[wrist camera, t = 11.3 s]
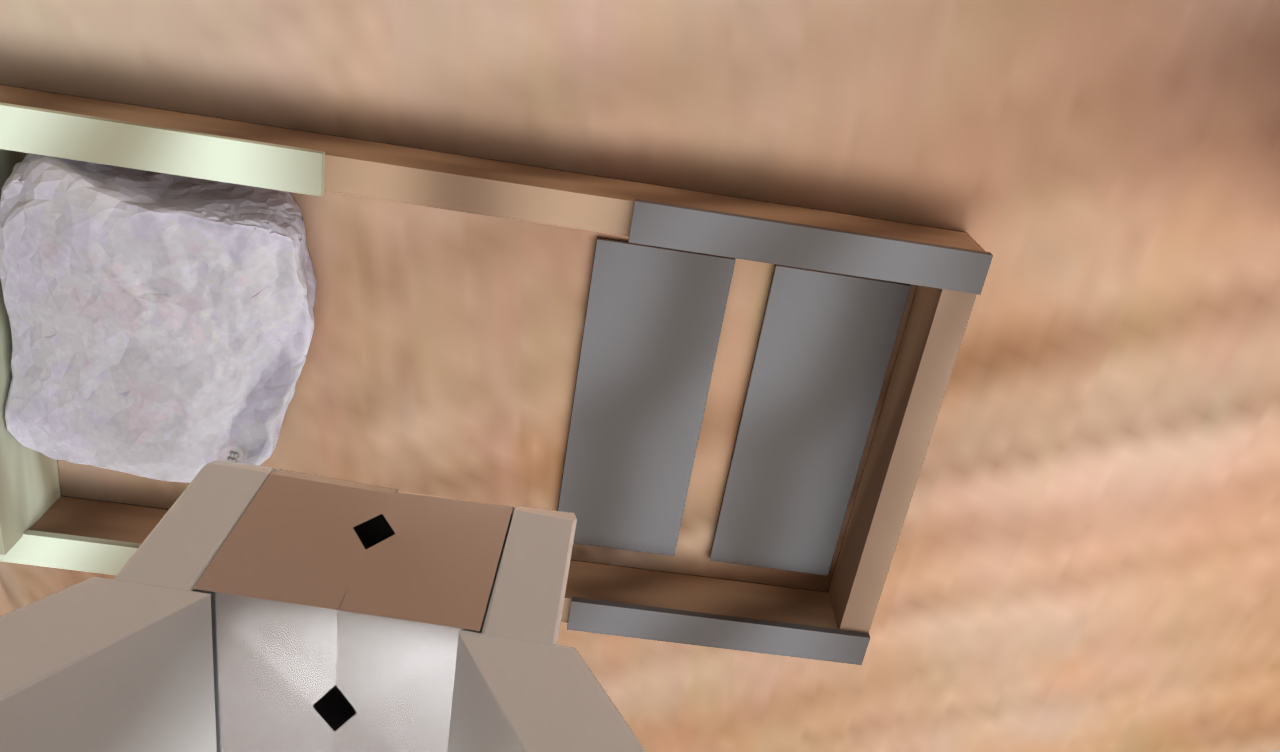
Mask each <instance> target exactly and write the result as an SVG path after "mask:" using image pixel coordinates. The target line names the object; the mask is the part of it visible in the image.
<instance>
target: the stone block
mask: <svg viewBox="0 0 1280 752" xmlns="http://www.w3.org/2000/svg"><path fill="white" fill-rule="evenodd" d="M0 279H1V285H2V292H3V298H4V304H5V307H6V310H7V313H8V317H9V321H10V327H11V334H12V345H13V351H12V359H11V370H12V380H11V384H10V389H9V393H8V398H7V402H6V406H5V420H6V427H7V431H8V432H9V433H10V434H11V435H12V436H13V437H14V438H15V439H16V440H17V441H18V442H19V443H21V444H22V445H23V446H25V447H27V448H30V449H32V450H35V451H38V452H40V453H43V454H45V455H46V456H48V457H49V458H53V459H56V460H66V461H69V462H72V463H76V464H87V465H93V466H96V467H100V468H105V469H110V470H115V471H119V472H124V473H129V474H133V475H137V476H141V477H147V478H150V479H156V480H163V481H172V482H187V483H191V481H192V480H193V479H194V478H195V476H196V475H197V474H198V473H199V471H200V470H201V469H202V468H203V466H205V465H206V464H207V463H210V462H213V461H216V460H225V461H232V462H238V463H245V464H251V465H258V466H260V465H261V464H262V463H263V462H264V461H266V460H267V459H268V458H269V457H271V455H272V453H273V451H274V449H275V447H276V445H277V441H278V437H279V434H280V430H281V426H282V422H283V419H284V416H285V413H286V410H287V406H288V405H289V403H290V401H291V400H292V398H293V396H294V394H295V387H296V382H297V380H298V378H299V376H300V374H301V371H302V367H303V365H304V364H305V361H306V356H307V352H308V349H309V346H310V342H311V339H312V336H313V331H314V315H313V306H314V304H315V290H316V278H315V274H314V271H313V267H312V263H311V259H310V256H309V253H308V249H307V244H306V231H305V227H304V222H303V218H302V212H301V210H300V208H299V206H298V205H296V204H295V202H294V199H293V197H292V195H291V194H290V193H289V192H287V191H280V190H273V189H267V188H260V187H253V186H246V185H240V184H233V183H226V182H219V181H213V180H206V179H199V178H193V177H186V176H179V175H172V174H166V173H159V172H152V171H145V170H139V169H132V168H125V167H119V166H112V165H105V164H98V163H92V162H85V161H78V160H71V159H65V158H58V157H51V156H45V155H38V154H31V153H28V154H27V155H26V156H25V157H24V159H23V161H22V162H20V163H17V164H15V166H14V168H13V172H12V173H11V175H10V176H9V178H8V179H7V180H6V182H5V183H4V185H3V187H2V193H1V201H0Z"/></svg>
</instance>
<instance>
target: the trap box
mask: <svg viewBox="0 0 1280 752" xmlns="http://www.w3.org/2000/svg"><path fill="white" fill-rule="evenodd" d="M25 153H31V154H38V155H45V156H51V157H58V158H65V159H71V160H78V161H85V162H92V163H98V164H105V165H112V166H119V167H125V168H132V169H139V170H145V171H152V172H159V173H166V174H172V175H179V176H186V177H193V178H199V179H206V180H213V181H219V182H226V183H233V184H240V185H246V186H253V187H260V188H267V189H273V190H280V191H287V192H294V193H300V194H307V195H314V196H320V197H321V196H322V195H323V194H324V191H326V192H333V193H340V194H347V195H353V196H360V197H367V198H373V199H380V200H387V201H393V202H400V203H407V204H414V205H420V206H427V207H434V208H440V209H447V210H454V211H461V212H467V213H474V214H481V215H487V216H494V217H501V218H508V219H514V220H521V221H528V222H534V223H541V224H548V225H554V226H561V227H568V228H575V229H581V230H588V231H595V232H601V233H608V234H615V235H622V236H628V237H629V242H624V241H617V240H610V239H603V238H597V244H596V251H595V258H594V265H593V271H592V278H591V285H590V292H589V299H588V306H587V313H586V320H585V327H584V334H583V341H582V348H581V355H580V362H579V368H578V375H577V382H576V389H575V396H574V403H573V410H572V417H571V424H570V431H569V438H568V445H567V452H566V459H565V465H564V472H563V479H562V486H561V493H560V500H559V507H558V511H562V512H570V513H574V514H575V516H576V519H577V522H576V528H575V535H574V541H573V543H575V544H583V545H591V546H599V547H607V548H615V549H622V550H630V551H638V552H646V553H654V554H662V555H670V556H674V554H675V549H676V544H677V539H678V535H679V530H680V525H681V520H682V515H683V511H684V506H685V501H686V496H687V491H688V486H689V482H690V477H691V472H692V467H693V462H694V457H695V453H696V448H697V443H698V438H699V433H700V428H701V424H702V419H703V414H704V409H705V404H706V399H707V395H708V390H709V385H710V380H711V375H712V371H713V366H714V361H715V356H716V351H717V346H718V342H719V337H720V332H721V327H722V322H723V317H724V313H725V308H726V303H727V298H728V293H729V288H730V284H731V279H732V274H733V269H734V264H735V258H738V259H744V260H751V261H758V262H764V263H771V264H776V265H775V269H774V274H773V278H772V283H771V287H770V291H769V296H768V300H767V305H766V309H765V314H764V318H763V322H762V327H761V331H760V336H759V340H758V345H757V349H756V354H755V358H754V362H753V367H752V371H751V376H750V380H749V385H748V389H747V393H746V398H745V402H744V407H743V411H742V416H741V420H740V424H739V429H738V433H737V438H736V442H735V447H734V451H733V456H732V460H731V464H730V469H729V473H728V478H727V482H726V487H725V491H724V495H723V500H722V504H721V509H720V513H719V518H718V522H717V526H716V531H715V535H714V540H713V544H712V549H711V553H710V561H717V562H725V563H733V564H741V565H749V566H757V567H764V568H772V569H780V570H788V571H796V572H804V573H812V574H820V575H828V572H829V569H830V565H831V562H832V558H833V555H834V551H835V548H836V544H837V541H838V538H839V534H840V531H841V527H842V524H843V520H844V517H845V513H846V510H847V506H848V503H849V499H850V496H851V492H852V489H853V486H854V482H855V479H856V475H857V472H858V468H859V465H860V461H861V458H862V454H863V451H864V447H865V444H866V441H867V437H868V434H869V430H870V427H871V423H872V420H873V416H874V413H875V409H876V406H877V402H878V399H879V395H880V392H881V389H882V385H883V382H884V378H885V375H886V371H887V368H888V364H889V361H890V357H891V354H892V350H893V347H894V343H895V340H896V337H897V333H898V330H899V326H900V323H901V319H902V316H903V312H904V309H905V305H906V302H907V298H908V295H909V292H910V288H911V285H910V284H912V285H918V286H917V289H916V293H915V296H914V300H913V303H912V307H911V310H910V313H909V317H908V320H907V324H906V327H905V331H904V334H903V337H902V341H901V344H900V348H899V351H898V355H897V358H896V361H895V365H894V368H893V372H892V375H891V379H890V382H889V385H888V389H887V392H886V396H885V399H884V403H883V406H882V409H881V413H880V416H879V420H878V423H877V427H876V430H875V433H874V437H873V440H872V444H871V447H870V451H869V454H868V457H867V461H866V464H865V468H864V471H863V475H862V478H861V482H860V485H859V488H858V492H857V495H856V499H855V502H854V506H853V509H852V512H851V516H850V519H849V523H848V526H847V530H846V533H845V536H844V540H843V543H842V547H841V550H840V554H839V557H838V560H837V564H836V567H835V571H834V574H833V578H832V581H831V584H830V588H829V591H828V593H827V592H819V591H812V590H804V589H796V588H788V587H780V586H772V585H764V584H756V583H748V582H740V581H732V580H724V579H716V578H708V577H700V576H692V575H684V574H676V573H668V572H660V571H652V570H644V569H636V568H628V567H620V566H612V565H604V564H596V563H588V562H580V561H572V560H570V566H569V572H568V579H567V585H566V591H565V598H564V604H563V610H562V617H561V622H567V623H568V626H567V630H575V631H583V632H592V633H600V634H608V635H617V636H625V637H633V638H641V639H650V640H658V641H666V642H675V643H683V644H691V645H700V646H708V647H716V648H724V649H733V650H741V651H749V652H758V653H766V654H774V655H782V656H791V657H799V658H807V659H816V660H824V661H832V662H841V663H849V664H857V665H862V662H863V659H864V655H865V652H866V649H867V646H868V643H869V640H870V636H869V630H870V627H871V624H872V621H873V618H874V614H875V611H876V608H877V605H878V602H879V599H880V596H881V592H882V589H883V586H884V583H885V580H886V577H887V574H888V571H889V567H890V564H891V561H892V558H893V555H894V552H895V549H896V545H897V542H898V539H899V536H900V533H901V530H902V527H903V524H904V520H905V517H906V514H907V511H908V508H909V505H910V502H911V499H912V495H913V492H914V489H915V486H916V483H917V480H918V477H919V473H920V470H921V467H922V464H923V461H924V458H925V455H926V452H927V448H928V445H929V442H930V439H931V436H932V433H933V430H934V426H935V423H936V420H937V417H938V414H939V411H940V408H941V405H942V401H943V398H944V395H945V392H946V389H947V386H948V383H949V380H950V376H951V373H952V370H953V367H954V364H955V361H956V358H957V354H958V351H959V348H960V345H961V342H962V339H963V336H964V333H965V329H966V326H967V323H968V320H969V317H970V314H971V311H972V307H973V304H974V301H975V298H976V295H977V294H981V291H982V288H983V285H984V282H985V279H986V275H987V272H988V269H989V266H990V263H991V260H992V257H993V255H992V254H991V253H990V252H985V251H984V250H983V249H982V248H981V247H980V245H979V244H978V243H977V242H976V241H975V240H974V239H973V238H972V237H971V236H970V235H969V234H968V233H966V232H959V231H953V230H946V229H940V228H933V227H926V226H920V225H913V224H907V223H900V222H894V221H887V220H881V219H874V218H868V217H861V216H855V215H848V214H841V213H835V212H828V211H822V210H815V209H809V208H802V207H796V206H789V205H783V204H776V203H770V202H763V201H757V200H750V199H743V198H737V197H730V196H724V195H717V194H711V193H704V192H698V191H691V190H685V189H678V188H672V187H665V186H658V185H652V184H645V183H639V182H632V181H626V180H619V179H613V178H606V177H600V176H593V175H587V174H580V173H574V172H567V171H560V170H554V169H547V168H541V167H534V166H528V165H521V164H515V163H508V162H502V161H495V160H489V159H482V158H475V157H469V156H462V155H456V154H449V153H443V152H436V151H430V150H423V149H417V148H410V147H404V146H397V145H391V144H384V143H377V142H371V141H364V140H358V139H351V138H345V137H338V136H332V135H325V134H319V133H312V132H306V131H299V130H292V129H286V128H279V127H273V126H266V125H260V124H253V123H247V122H240V121H234V120H227V119H221V118H214V117H208V116H201V115H194V114H188V113H181V112H175V111H168V110H162V109H155V108H149V107H142V106H136V105H129V104H123V103H116V102H110V101H103V100H96V99H90V98H83V97H77V96H70V95H64V94H57V93H51V92H44V91H38V90H31V89H25V88H18V87H11V86H5V85H0V201H1V193H2V187H3V185H4V183H5V182H6V180H7V179H8V178H9V176H10V175H11V173H12V172H13V168H14V166H15V164H17V163H20V162H22V161H23V159H24V157H25ZM12 351H13V345H12V334H11V327H10V321H9V317H8V313H7V310H6V307H5V304H4V298H3V292H2V285H1V279H0V561H3V562H11V563H19V564H28V565H36V566H44V567H52V568H61V569H69V570H77V571H86V572H94V573H102V574H110V575H117V574H118V573H119V572H120V570H121V569H122V568H123V567H124V565H125V564H126V563H127V562H128V560H129V559H130V558H131V557H132V555H133V554H134V553H135V552H136V550H137V549H138V548H139V547H140V545H141V544H142V543H143V542H144V540H145V539H146V538H147V537H148V535H149V534H150V533H151V532H152V530H153V529H154V528H155V527H156V525H157V524H158V523H159V522H160V520H161V519H162V518H163V516H164V515H165V514H166V513H167V511H168V510H166V509H158V508H150V507H142V506H134V505H126V504H118V503H110V502H102V501H94V500H86V499H78V498H70V497H62V496H61V495H60V485H59V475H58V466H57V460H56V459H53V458H49V457H48V456H46V455H45V454H43V453H40V452H38V451H35V450H32V449H30V448H27V447H25V446H23V445H22V444H21V443H19V442H18V441H17V440H16V439H15V438H14V437H13V436H12V435H11V434H10V433H9V432H8V431H7V427H6V420H5V406H6V402H7V398H8V393H9V389H10V384H11V380H12V370H11V359H12Z"/></svg>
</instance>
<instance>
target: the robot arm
mask: <svg viewBox="0 0 1280 752" xmlns="http://www.w3.org/2000/svg"><path fill="white" fill-rule="evenodd" d="M576 522H577V519H576V516H575V514H574V513H570V512H562V511H553V510H545V509H537V508H528V507H520V506H517V507H516V508H514V507H510V506H503V505H495V504H488V503H481V502H474V501H466V500H459V499H452V498H445V497H437V496H430V495H423V494H416V493H409V492H401V491H398V489H392V488H386V487H380V486H375V485H369V484H363V483H357V482H352V481H346V480H340V479H334V478H329V477H323V476H317V475H311V474H306V473H300V472H294V471H288V470H283V469H279V470H276V469H274V468H271V467H265V466H258V465H251V464H245V463H238V462H232V461H225V460H216V461H213V462H210V463H207V464H206V465H205V466H203V468H202V469H201V470H200V471H199V473H198V474H197V475H196V476H195V478H194V479H193V480H192V481H191V483H190V484H189V485H188V486H187V488H186V489H185V490H184V491H183V493H182V494H181V495H180V496H179V498H178V499H177V500H176V501H175V503H174V504H173V505H172V506H171V508H170V509H169V510H168V511H167V513H166V514H165V515H164V516H163V518H162V519H161V520H160V522H159V523H158V524H157V525H156V527H155V528H154V529H153V530H152V532H151V533H150V534H149V535H148V537H147V538H146V539H145V540H144V542H143V543H142V544H141V545H140V547H139V548H138V549H137V550H136V552H135V553H134V554H133V555H132V557H131V558H130V559H129V560H128V562H127V563H126V564H125V565H124V567H123V568H122V569H121V570H120V572H119V573H118V574H117V575H116V577H115V578H114V579H107V578H100V577H92V578H89V579H87V580H85V581H82V582H80V583H78V584H75V585H73V586H71V587H68V588H66V589H63V590H61V591H59V592H56V593H54V594H52V595H49V596H47V597H45V598H42V599H40V600H38V601H35V602H33V603H31V604H28V605H26V606H24V607H21V608H19V609H17V610H14V611H12V612H10V613H7V614H5V615H3V616H0V752H646V750H645V749H644V747H643V746H642V744H641V743H640V742H639V740H638V739H637V737H636V736H635V734H634V733H633V731H632V730H631V728H630V727H629V725H628V724H627V723H626V721H625V720H624V718H623V717H622V715H621V714H620V712H619V711H618V709H617V708H616V706H615V705H614V704H613V702H612V701H611V699H610V698H609V696H608V695H607V693H606V692H605V690H604V689H603V688H602V686H601V685H600V683H599V682H598V680H597V679H596V677H595V676H594V674H593V673H592V671H591V670H590V669H589V667H588V666H587V664H586V663H585V661H584V660H583V658H582V657H581V655H580V654H579V653H578V651H577V650H576V649H575V648H573V647H567V646H561V645H557V642H558V635H559V629H560V623H561V617H562V610H563V604H564V598H565V591H566V585H567V579H568V572H569V566H570V560H571V554H572V547H573V541H574V535H575V528H576Z"/></svg>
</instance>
